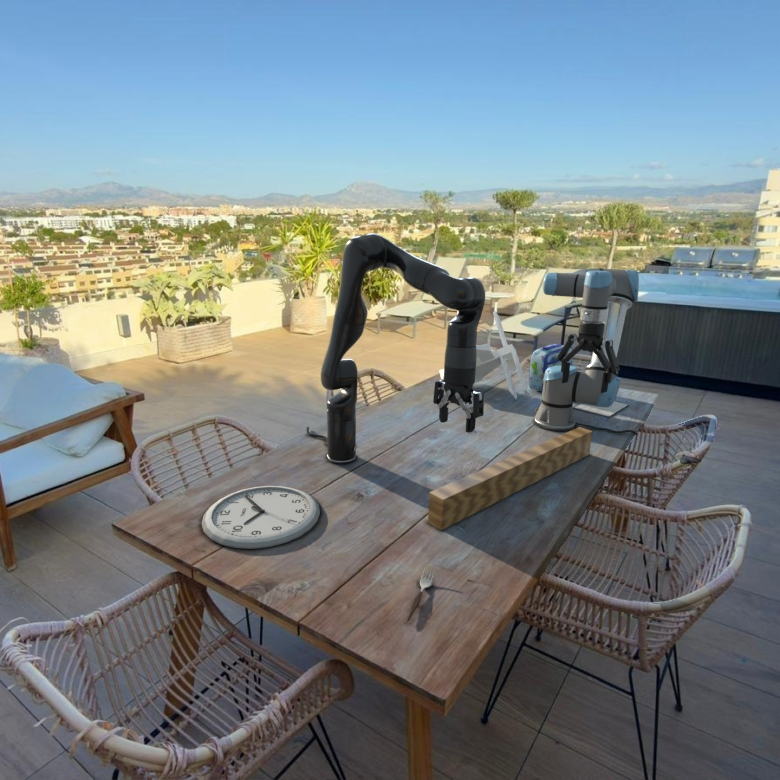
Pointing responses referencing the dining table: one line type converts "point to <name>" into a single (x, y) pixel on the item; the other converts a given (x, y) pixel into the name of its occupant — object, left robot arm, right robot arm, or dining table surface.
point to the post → (505, 478)
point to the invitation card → (602, 408)
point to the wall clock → (260, 517)
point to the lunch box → (544, 364)
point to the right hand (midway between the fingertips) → (583, 387)
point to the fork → (424, 584)
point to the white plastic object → (497, 361)
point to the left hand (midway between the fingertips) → (456, 426)
